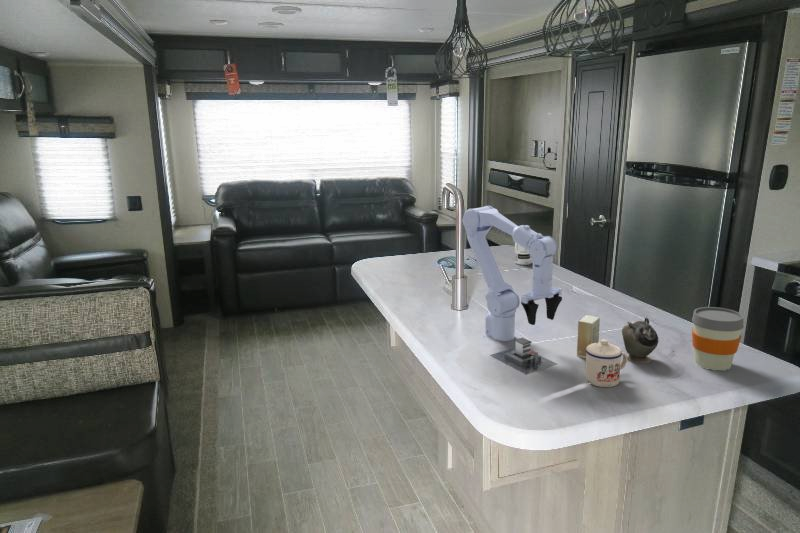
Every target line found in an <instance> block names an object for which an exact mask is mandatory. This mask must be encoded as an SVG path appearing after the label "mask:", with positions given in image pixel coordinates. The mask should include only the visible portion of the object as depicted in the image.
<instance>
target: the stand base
mask: <svg viewBox="0 0 800 533" xmlns="http://www.w3.org/2000/svg"><path fill="white" fill-rule="evenodd" d="M515 352H516V349H515V347H512V348H509V349H505V350H502V351H499V352H495V353H492V354H489V356H490V357H491V358H493V359H496V360H497V361H500V362H501V363H503V364H505V365H507V366H509V367H511V368H512V369H515V370H516V371H518V372H520V373H522V374H524V375H528V374H531V373H535V372H538V371H542V370H544V369H547V368H551V367H553V366H556V365H558V363H557V362H555V361H552V360H550V359H548V358H546V357H544V356H542V355H540V354H539V352H537V351H534V350H531V351H530V353H531V355H530V357H527V358H524V359H521V358H519V357H517V356H515Z"/></svg>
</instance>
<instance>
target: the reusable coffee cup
mask: <svg viewBox="0 0 800 533" xmlns="http://www.w3.org/2000/svg"><path fill="white" fill-rule="evenodd" d="M691 322H692V326H693V327H692V329H691V337H692V347H693V348H694V363H695V362H696V363H697V364H698V365H700V366H701V368H702V367H704V368H703V369H705V368H708V369H707V370H709V369H712V370H711V371H716V370H724V371H727V370H726V369H728V370H730V369H731V368H730V367H732V364H733V361H734V356H735V354H736V353H737V352H738V349H739V345H740V343H741V342H740V341H741V339H742V335H741V333H742V329H744V315H743V314H742V313H741V312H738V311H736V310H733V309H729V308H724V307H714V306H704V307H703V306H702V307H698V308H694V310H693V315H692V318H691ZM696 363H695V364H696ZM697 364H696V365H697ZM698 365H697V366H698ZM700 366H699V367H700ZM729 368H730V369H729Z"/></svg>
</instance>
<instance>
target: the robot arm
mask: <svg viewBox="0 0 800 533" xmlns="http://www.w3.org/2000/svg"><path fill="white" fill-rule="evenodd" d="M461 223H462V225H463V227H464V229H465V232H466V238H467V242H468V244H469V246H470V249H471V250H472V253H473V256H474V258H475V261H476V263H477V264H478V266H479V269H480V271H481V274H482V276H483V279H484V281H485V283H486V286H487V288H488V290H487V291H486V293H485V297H484V298H485V299H486V306H487V310H488V312H487V313H486V316H485V334H484V335H483V338H488V337H491V338H492V339H493V340H495V341H498V342H499V341H500V342H508V341H509V342H510V341H513V340H515V336H516V335H515V330H516V327H515V326H516V323H515V322H516V319H515V318H516V313H517V309H518V308H520V304H521V306H522V308H523V309H524V311H525V314H526V318H527V323H528V324H530V325H531V326H535V325H536V319H537V311H538V309H539V304H538V303H536V302H535V301H538V300H542V299H544V300H545V304H546V306H545V307H546V318H547V319H549V320H551V321H553V320H554V319H555V316H556V312H557V310H558V307H559V306H560V304H561V303H562V301H563V297H562V292H563V289H562V288H561V287H553V267H554V266H553V265H554V255H555V254H556V253H557V251H558V243H557V241H556V240H555V239H554V238H553V237H552V236H550V235H545V236H543V234H542V233H539V232H536V231H535V230H533V229H532V228H530V227H531V226H530V225H528V224H526V225H525V224H521V225H517V224H516V223H514V222H513V221H511V220H510V219H508V218H507V217H506V216H504V215H503V214H501V213H500V212H499V210H498V209H497V208H494V207H493V206H491V205H484V206H481V207H476V208H468V209H467V210H466V211H464V214H463V216H462V220H461ZM492 227H495V228H496V229H499V230H500V231H502V232H504V233H506V234H507V235H510V236H511V237H512V240H513V241H512V242H514V243H515V242H516V243H517V244H519V245H520V246H522V247H524V248H525V249H527V250H528V251H529V253H530V255H531V257H532V276H531V277H532V280H531V283H532V284H531V285H532V286H531V291H529V292H528V293H525V294H524V295H521V297H520V296H519V294H518V293H517V292H516V291H515V290H514V288H513V286H512V285H511V284H509V283H507V282H505V279H504V277H503V275H502V273H501V270H500V269H499V266H498V264H497V261H496V258H495V257H494V255H493V253H492V249H491V248H490V246H489V243H488V240H487V239H486V236H487V234H488V233H489V231H490V230H491V228H492ZM520 298H521V299H520Z"/></svg>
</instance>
